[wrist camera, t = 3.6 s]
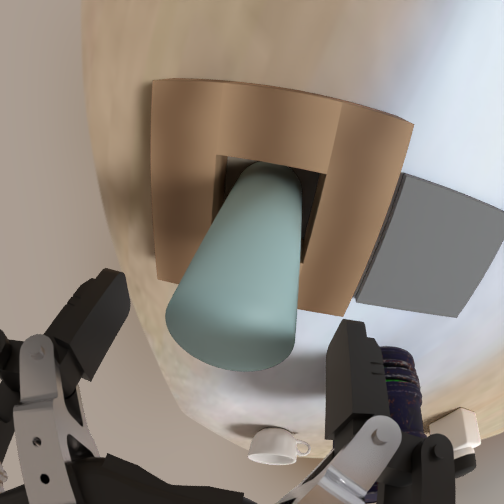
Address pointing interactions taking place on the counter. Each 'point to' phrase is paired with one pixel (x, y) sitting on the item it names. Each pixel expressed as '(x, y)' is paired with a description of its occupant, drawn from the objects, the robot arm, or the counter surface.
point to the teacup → (275, 447)
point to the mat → (432, 250)
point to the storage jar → (400, 398)
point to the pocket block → (277, 152)
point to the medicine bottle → (460, 438)
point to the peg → (244, 276)
